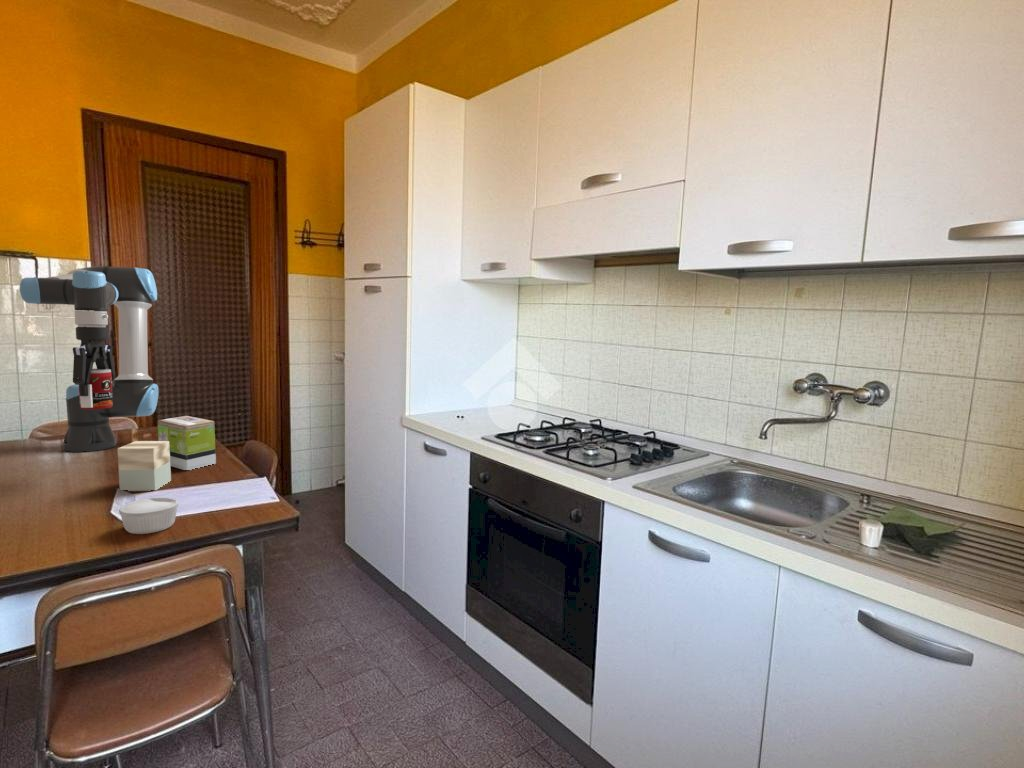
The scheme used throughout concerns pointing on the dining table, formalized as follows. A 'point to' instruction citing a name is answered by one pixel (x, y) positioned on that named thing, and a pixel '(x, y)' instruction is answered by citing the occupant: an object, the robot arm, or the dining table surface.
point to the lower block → (144, 478)
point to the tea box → (189, 441)
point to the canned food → (101, 389)
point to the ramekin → (149, 515)
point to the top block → (143, 455)
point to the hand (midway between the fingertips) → (96, 404)
